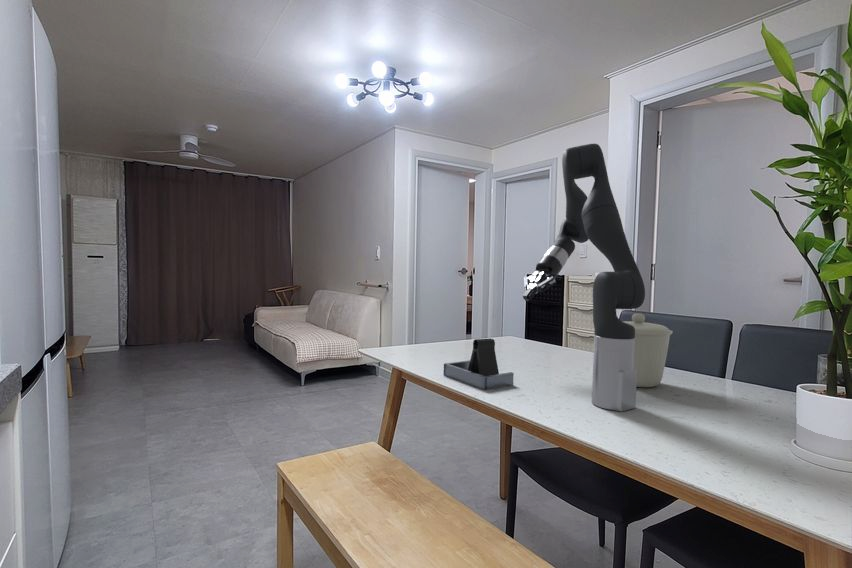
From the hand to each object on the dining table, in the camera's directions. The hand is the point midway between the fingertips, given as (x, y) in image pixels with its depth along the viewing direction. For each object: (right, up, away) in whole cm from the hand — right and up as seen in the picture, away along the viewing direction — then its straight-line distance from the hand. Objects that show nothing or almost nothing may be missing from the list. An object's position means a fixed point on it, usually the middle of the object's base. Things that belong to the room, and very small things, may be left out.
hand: (525, 299), depth 139 cm
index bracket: (-17, -24, -10) cm, 31 cm away
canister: (+31, -25, -9) cm, 41 cm away
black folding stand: (-15, -24, -8) cm, 29 cm away
